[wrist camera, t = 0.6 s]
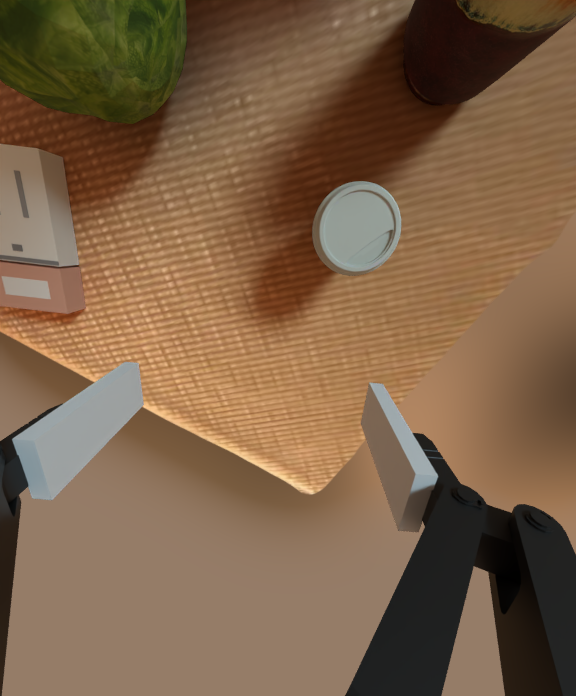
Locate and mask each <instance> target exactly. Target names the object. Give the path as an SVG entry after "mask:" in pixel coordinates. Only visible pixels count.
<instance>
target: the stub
mask: <svg viewBox="0 0 576 696" xmlns="http://www.w3.org/2000/svg"><path fill="white" fill-rule="evenodd" d="M0 306H5V307H13V308H22V309H30V310H39V311H48V312H56V313H65V314H69V313H72V312H75V311H79V310H82V309H85V308H86V305H85V298H84V292H83V285H82V279H81V272H80V267H76V266H62V267H57V266H48V265H40V264H31V263H23V262H14V261H6V260H0Z"/></svg>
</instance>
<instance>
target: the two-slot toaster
mask: <svg viewBox="0 0 576 696" xmlns="http://www.w3.org/2000/svg"><path fill="white" fill-rule="evenodd" d="M0 260H6V261H14V262H23V263H31V264H40V265H48V266H57V267H62V266H72V265H79V259H78V253H77V246H76V240H75V233H74V227H73V220H72V214H71V207H70V201H69V195H68V188H67V182H66V175H65V169H64V162H63V157H61V156H58V155H55V154H52V153H50V152H47V151H44V150H41V149H39V148H31V147H23V146H14V145H6V144H0Z"/></svg>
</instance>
